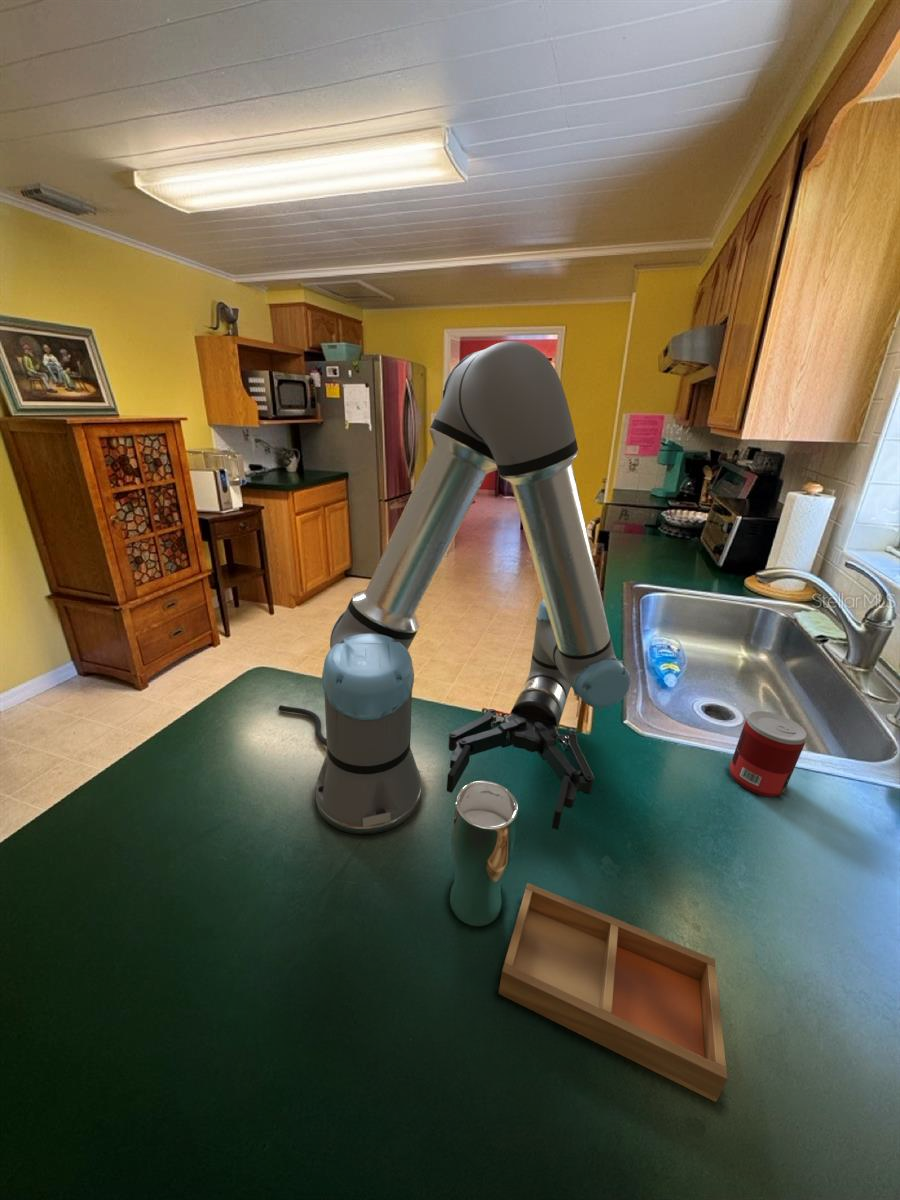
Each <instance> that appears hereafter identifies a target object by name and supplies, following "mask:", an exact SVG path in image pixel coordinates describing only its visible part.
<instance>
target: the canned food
mask: <svg viewBox="0 0 900 1200" xmlns="http://www.w3.org/2000/svg"><path fill="white" fill-rule="evenodd" d="M738 738H739V739H738V741H737V744H736V747H735V749H734V753H733V755H732V759H731V761H730V764H729V773H730V775H731V777H732V778H733V780H734V781H735V782H736V783H737V784H738V785H739V786H741V787H743V789H746V790H748V791H749V792H751V793H753V794H757V795H759V796H765V797H777V796H780V795H782V794H783V793H784V792H785V791H786V789H787V787H788V784H789V782H790V780H791V778H792V775H793V773H794V770H795V768H796V766H797V764H798V761H799V759H800V756H801V754H802V752H803V749H804V747H805V744H806V742H807V738H808V732H807V731H806V729H804V727H802V726H801V725H800V724H799V723H798V722H795V721H794V720H792V719H790V718H788V717H786V716H784V715H781V714H778V713H775V712H771V711H764V710H754V711H751V712H749V713H748V715H747V717H746V718H745V721H744V724H743V727H742V729H741V732H740V735H739V737H738Z"/></svg>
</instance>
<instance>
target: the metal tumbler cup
mask: <svg viewBox="0 0 900 1200" xmlns="http://www.w3.org/2000/svg"><path fill="white" fill-rule="evenodd" d="M455 798H456V799H455V805H454V806H455V807H454V811H453V815H452V824H451V837H450V838H451V839H450V843H451V844H450V845H451V853H452V861H453V867H454V881H453V883H452V886H451V889H450V894H449V904H450V907H451V910H452V913H453V914H454V915H455V916H456V918H457V919H458V920H460V922H462V923H463V924H466V925H468V926H471V927H485V926H487V925H490V924H491V923H493V922H494V921H495V920H496V919H497V918H498V916H499V915H500V912H501V910H502V903H503V902H502V900H503V899H502V892H501V891H502V890H501V889H502V888H501V885H502V882H503V879H504V877H505V874H506V872H507V869H508V867H509V864H510V862H511V859H512V856H513V854H514V849H515V843H516V838H517V829H518V828H517V826H518V810H519V807H518V802H517V799H516V798H515V796H514V794H513V793H512V792H511V791H510V790H509V789H508V788H507V787H505V786H503V785H501V784H500V783H496V782H495V781H494V782H493V781H489V780H477V781H472V782H470V783H468V784H466V785H464V786H463V787H462V788H461V789H460V790H459V791H458V793H457V795H456V797H455Z"/></svg>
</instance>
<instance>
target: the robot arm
mask: <svg viewBox="0 0 900 1200" xmlns="http://www.w3.org/2000/svg"><path fill="white" fill-rule="evenodd" d="M572 419H573V418H572V415H571V412H570V407H569V404H568V400H567V396H566V394H565V390H564V387H563V384H562V382H561V379H560V377H559V374H558V372H557V370H556V369H555V367H554V365H553V364H552V362H551V361H550V359H549V358H548V357H547V356H546V355H545V354H544V353H543V352H542V351H541V350H539V349H538V348H537V347H536V346H533V345H531V344H529V343H525V342H522V341H516V340H515V341H513V340H507V341H501V342H498V343H497V342H496V343H495V344H493V345H490V346H488V347H486V348H485V349H482V350H478V351H475V352H472V353H470V354H468V355H466V356H465V357H464V358H462V359H461V360H460V361H459V362H457V364H456V365H454V367H453V368H452V369H451V371H450V373H449V374H448V376H447V378H446V380H445V382H444V386H443V390H442V397H441V403H440V405H439V407H438V409H437V411H436V413H435V416H434V417H433V420H432V423H431V425H430V427H429V428H428V431H429V435H430V437H431V440H432V448H431V450H430V452H429V455H428V457H427V459H426V461H425V463H424V465H423V467H422V470H421V472H420V474H419V476H418V478H417V480H416V482H415V484H414V487H413V488H412V491H411V493H410V496H409V497H408V500H407V502H406V504H405V506H404V508H403V510H402V512H401V515H400V516H399V519H398V521H397V523H396V525H395V527H394V530H393V532H392V534H391V536H390V538H389V540H388V542H387V544H386V547H385V548H384V550H383V552H382V555H381V557H380V560H379V561H378V564H377V565H376V568H375V570H374V572H373V574H372V576H371V579H370V581H369V583H368V585H367V587H366V588H365V589H364V590H360V591H357V592H355V593H353V594H352V596H351V598H350V600H349V602H348V605H347V607H346V609H345V610H344V611H343V612H342V613H341V614H340V615H339V617H338V618H337V620H336V621H335V623H334V625H333V627H332V630H331V633H330V638H329V648H330V649H329V650H328V652H327V654H326V656H325V659H324V663H323V668H322V672H321V673H322V674H321V675H322V676H321V684H322V688H323V692H324V714H325V715H324V716H325V732H326V733H325V737H324V735H323V734H322V722H321V719H320V717H319V716H318V714H316V713H315V712H314V711H312V710H309V709H305V708H301V707H293V706H286V705H283V704H280V705H279V706H278V711H281V712H286V713H293V714H299V715H303V716H306V717H309V718H310V719H312V720H313V721H314V732H315V736H316V739H317V740H318V742H319V743H320V744H322V745H324V746H325V747H326V754H325V757H324V760H323V763H322V766H321V769H320V771H319V773H318V776H317V780H316V786H315V802H316V809H317V810H318V813H319V814H320V816H321V817H322V819H323V820H325V822H326V823H327V824H329V825H330V826H331V827H333V828H335V829H337V830H339V831H342V832H344V833H349V834H355V835H372V834H378V833H382V832H385V831H386V832H387V831H389V830H391V829H393V828H395V827H397V826H399V825H401V824H402V823H404V822H405V821H406V820H407V819H408V818H410V817H411V816H412V815H413V814H414V812H415V811H416V809H417V807H418V805H419V803H420V800H421V796H422V778H421V774H420V771H419V769H418V766H417V763H416V759H415V757H414V755H413V752H412V748H411V738H412V737H411V733H412V732H411V731H412V705H413V704H412V702H413V687H414V683H415V671H414V666H413V660H412V657H411V654H410V651H409V649H410V647H411V645H412V643H413V641H414V639H415V638H416V635H417V633H418V631H419V629H420V626H421V624H420V621H419V619H418V615H417V612H418V610H419V608H420V606H421V604H422V602H423V600H424V598H425V596H426V594H427V592H428V590H429V589H430V587H431V584H432V582H433V581H434V579H435V577H436V575H437V573H438V571H439V569H440V567H441V565H442V563H443V561H444V559H445V556H447V553H448V551H449V549H450V548H451V545H452V543H453V541H454V539H455V537H456V535H457V533H458V532H459V529H460V527H461V525H462V523H463V521H464V519H465V517H466V515H467V514H468V512H469V510H470V508H471V506H472V504H473V502H474V500H475V498H476V496H477V494H478V492H479V490H480V488H481V486H482V484H483V483H484V480H485V478H486V476H487V475H488V474H490V473H492V472H495V471H497V472H498V475H499V477H500V478H501V479H503V480H505V481H507V482H508V483H510V486H511V490H512V493H513V496H514V501H515V503H516V507H517V511H518V514H519V518H520V521H521V524H522V527H523V532H524V535H525V538H526V541H527V545H528V548H529V552H530V556H531V559H532V562H533V566H534V570H535V573H536V576H537V580H538V583H539V587H540V591H541V595H542V597H543V599H541V601H540V603H539V607H538V611H537V616H536V617H535V620H536V622H535V623H536V624H535V630H534V631H535V632H534V638H533V639H534V640H533V647H532V652H531V653H532V654H531V659H530V660H531V661H530V667H529V673H528V676H527V679H526V680H525V683H524V685H523V687H522V688H521V691H520V693H519V695H518V697H517V698H516V700H515V703H514V705H513V707H512V709H511V711H510V713H509V715H506V716H505V717H503V716H500V715H497V710H496V709H493V708H490V709H488V710H487V712H486V713H485V714H484V715H482V716H480V717H478V718H476V719H474V720H472V721H470V722H469V723H467V724H465V725H462V726H461V727H458V728H456V729H455V730H453V731H451V732H449V734H448V745H447V749H448V750H449V751H450V752H452V754H451V755H450V759H449V769H450V770H449V771H448V773H447V779H446V792H448V793H451V794H452V793H453V792H454V790H455V788H456V787H457V785H458V783H459V781H460V779H461V778H462V775H463V773H464V772H465V770H466V768H467V766H468V765H469V763H470V757H471V756H473V755H476V754H480V753H483V752H486V751H490V750H493V749H496V748H499V747H501V748H502V749H504V748H507V747H510V746H513V747H514V748H517V749H522V750H526V751H527V752H530V753H535V752H537V754H538V755H539V756H540V758H541V760H542V761H546V763H547V764H548V766H549V767H550V768H551V770H552V771H553V772H554V773H555V775H556V777H557V778H558V779H559V780H560V782H561V785H560V790H559V794H558V797H557V801H556V805H555V809H554V814H553V819H552V824H551V829H553V830H556V831H559V828H560V823H561V821H562V820H561V819H562V815H563V811H564V808H567V809H573V807H574V806H575V801H576V797H577V793H578V792H582V793H583V794H584V795H588V796H589V795H591V794H592V791H593V786H594V781H595V776H594V774H593V772H592V769H591V767H590V765H589V764H588V762H587V760H586V757H585V756H584V754H583V751H582V749H581V747H580V745H579V744H578V734H577V732H575V731H569V732H568V735H567V734H563V733H559V731H558V730H559V729H558V728H559V726H560V723H561V719H562V716H563V713H564V711H565V710H564V709H565V707H566V703H567V699H568V697H569V695H570V694H569V693H570V691H571V688H572V690H573V692H574V694H575V695H577V696H578V697H579V698H580V699H581V700H582V701H583V703H585V704H586V705H588V706H589V707H591V708H593V709H594V708H595V709H607V708H609V707H612V706H614V705H617V704H619V702H621V701H622V700H623V699H624V698H625V697H626V696H627V694H628V692H629V690H630V687H631V681H632V679H631V675H630V672H629V670H628V669H627V668H626V667H625V665H624V663H623V661H622V660H620V659H619V658H617V657H616V654H615V649H614V646H613V642H612V638H611V635H610V630H609V624H608V621H607V616H606V612H605V611H606V610H605V607H604V602H603V598H602V593H601V588H600V584H599V579H598V575H597V571H596V570H597V569H596V567H595V562H594V556H593V552H592V548H591V543H590V539H589V534H588V531H587V530H588V529H587V526H586V525H587V524H586V521H585V520H586V519H585V516H584V511H583V507H582V502H581V497H580V493H579V489H578V484H577V480H576V475H575V471H574V466H573V463H574V462H575V459H576V458H577V456H578V454H579V452H580V451H579V447H578V442H577V437H576V432H575V427H574V423H573V420H572ZM556 744H559V745H560V746H561V748H562V751H563V752H564V753H565V755H566V756H565V755H564V754H563V753H562V752H561V750H560V749H559V748H558V746H557V745H556Z"/></svg>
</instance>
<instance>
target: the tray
mask: <svg viewBox="0 0 900 1200" xmlns="http://www.w3.org/2000/svg"><path fill="white" fill-rule="evenodd" d="M716 967H717V963H716V959H715V958H714V957H711V956H709V955H706V954H703V953H701V952H699V951H696V950H694V949H691V948H689V947H686V946H684V945H682V944H679V943H677V942H674V941H672V940H670V939H666V938H664V937H662V936H660V935H657V934H654V933H652V932H650V931H647V930H645V929H642V928H640V927H637V926H635V925H632V924H631V923H628V922H625V921H623V920H620V919H618V918H616V917H613V916H611V915H608V914H605V913H603V912H601V911H599V910H595V909H593V908H591V907H589V906H585V905H583V904H580V903H578V902H577V901H573V900H571V899H569V898H567V897H563V896H561V895H559V894H556V893H553V892H551V891H549V890H546V889H544V888H542V887H539V886H536V885H534V884H531V883H530V882H527V883H526V886H525V890H524V893H523V896H522V900H521V904H520V907H519V910H518V914H517V917H516V921H515V924H514V927H513V931H512V933H511V938H510V942H509V945H508V949H507V952H506V956H505V959H504V962H503V965H502V970H501V974H500V975H501V976H500V982H499V988H498V994H499V995H500V996H502V997H504V998H506V999H508V1000H510V1001H512V1002H513V1003H516V1004H518V1005H520V1006H523V1007H524V1008H526V1009H528V1010H530V1011H532V1012H534V1013H536V1014H538V1015H540V1016H541V1017H544V1018H546V1019H548V1020H550V1021H551V1022H554V1023H556V1024H558V1025H560V1026H563V1027H564V1028H567V1029H568V1030H571V1031H572V1032H574V1033H577V1034H578V1035H579V1036H582V1037H584V1038H585V1039H588V1040H590V1041H593V1042H594V1043H597V1044H598V1045H601V1046H603V1047H605V1048H606V1049H608V1050H611V1051H612V1052H614V1053H616V1054H619V1055H620V1056H622V1057H624V1058H626V1059H629V1060H631V1061H632V1062H635V1063H636V1064H638V1065H640V1066H642V1067H645V1068H647V1069H648V1070H651V1071H652V1072H654V1073H657V1074H658V1075H661V1076H662V1077H664V1078H666V1079H668V1080H671V1081H672V1082H675V1083H676V1084H678V1085H680V1086H682V1087H685V1088H687V1089H688V1090H690V1091H692V1092H695V1093H697V1094H698V1095H701V1096H703V1097H704V1098H707V1099H708V1100H711V1101H713V1102H715V1103H716V1102H717V1101H718V1099H719V1097H720V1095H721V1093H722V1091H723V1089H724V1087H725V1085H726V1084H727V1082H728V1080H729V1077H728V1069H727V1061H726V1051H725V1042H724V1032H723V1022H722V1013H721V1004H720V1002H721V1001H720V994H719V984H718V974H717V968H716Z"/></svg>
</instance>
